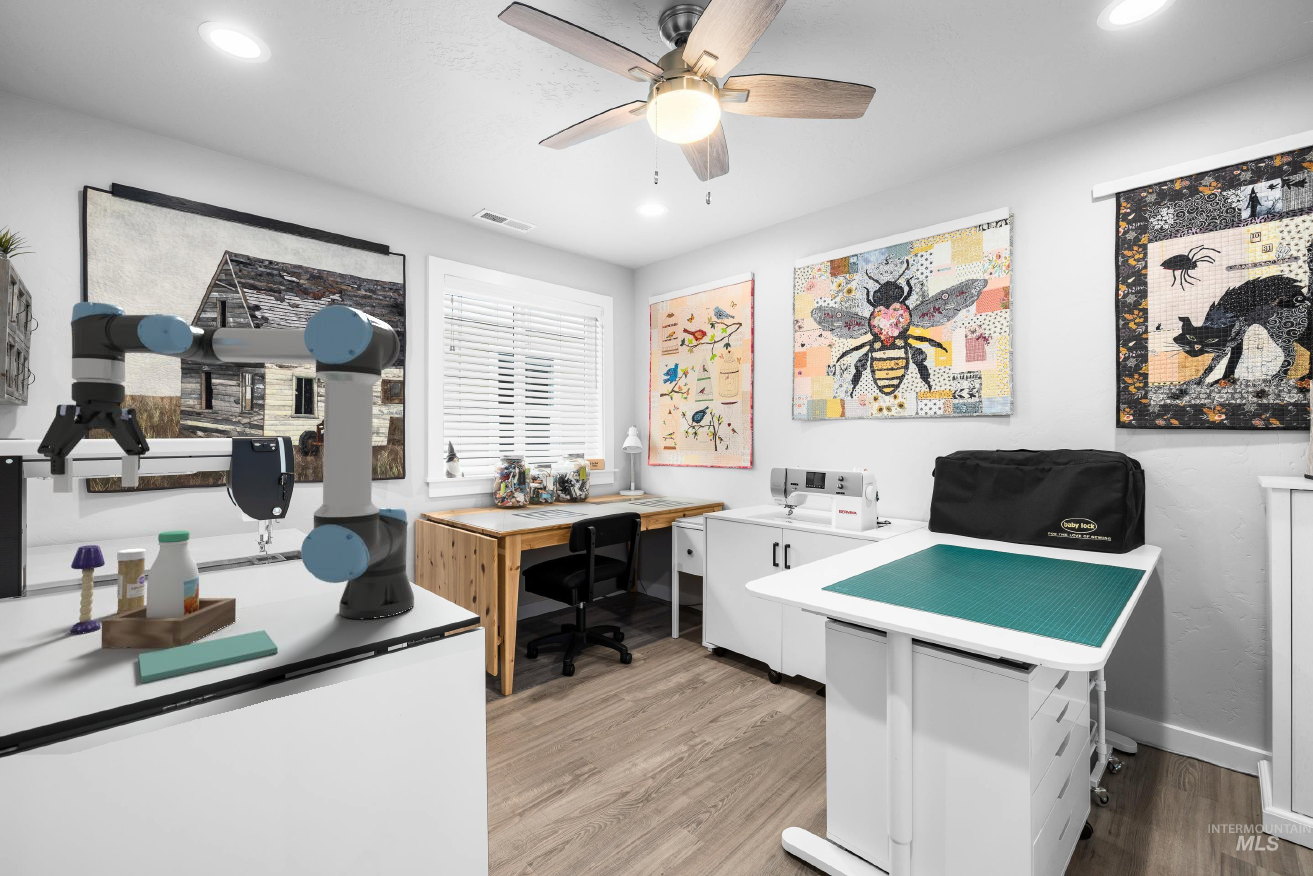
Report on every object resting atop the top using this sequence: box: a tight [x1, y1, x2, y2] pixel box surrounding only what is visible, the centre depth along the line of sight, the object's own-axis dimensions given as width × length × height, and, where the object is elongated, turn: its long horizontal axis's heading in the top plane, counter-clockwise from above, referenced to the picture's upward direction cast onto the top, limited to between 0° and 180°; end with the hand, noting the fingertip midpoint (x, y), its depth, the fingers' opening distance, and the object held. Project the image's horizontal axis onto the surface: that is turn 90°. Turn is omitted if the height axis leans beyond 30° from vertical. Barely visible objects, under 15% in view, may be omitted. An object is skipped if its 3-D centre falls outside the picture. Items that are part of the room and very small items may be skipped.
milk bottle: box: [146, 530, 200, 618], centre depth 109 cm, size 8×8×20 cm
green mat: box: [138, 629, 279, 684], centre depth 98 cm, size 18×12×1 cm, turn 134°
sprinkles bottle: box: [116, 548, 147, 615], centre depth 122 cm, size 5×5×14 cm
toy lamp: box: [69, 544, 105, 634], centre depth 110 cm, size 5×5×17 cm
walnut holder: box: [100, 597, 237, 649], centre depth 109 cm, size 14×14×5 cm
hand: (98, 489), depth 111 cm, fingers open, 13 cm apart
